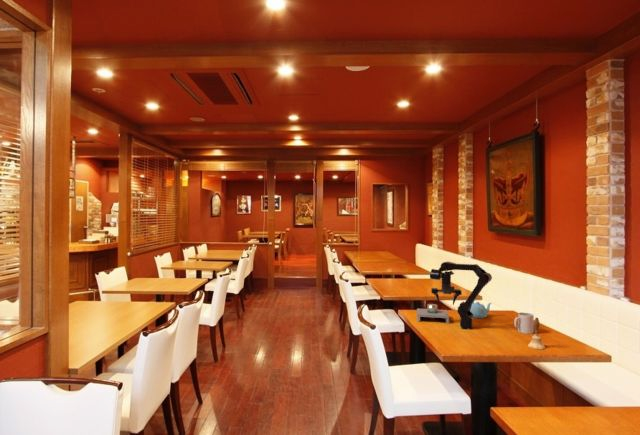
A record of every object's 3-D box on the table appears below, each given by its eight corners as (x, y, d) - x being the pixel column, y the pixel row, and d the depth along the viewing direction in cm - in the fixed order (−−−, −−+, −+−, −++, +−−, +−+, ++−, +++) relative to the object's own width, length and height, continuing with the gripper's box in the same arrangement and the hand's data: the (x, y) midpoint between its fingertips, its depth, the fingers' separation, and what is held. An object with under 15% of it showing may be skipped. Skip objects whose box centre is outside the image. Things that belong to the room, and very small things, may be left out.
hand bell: (524, 344, 211) (524, 316, 211) (538, 344, 212) (539, 315, 212) (534, 349, 203) (534, 320, 203) (548, 349, 204) (549, 319, 204)
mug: (526, 329, 239) (526, 312, 239) (536, 333, 231) (537, 315, 231) (509, 330, 237) (510, 313, 237) (519, 334, 228) (519, 316, 228)
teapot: (482, 320, 259) (483, 305, 259) (462, 316, 270) (462, 301, 270) (491, 316, 269) (492, 302, 269) (471, 312, 280) (471, 298, 280)
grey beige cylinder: (436, 316, 263) (436, 304, 263) (437, 319, 257) (437, 306, 257) (427, 316, 265) (427, 303, 264) (427, 318, 258) (427, 305, 258)
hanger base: (446, 317, 266) (446, 310, 266) (448, 323, 251) (448, 316, 251) (416, 315, 271) (416, 308, 271) (417, 321, 255) (417, 314, 255)
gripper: (432, 282, 244) (432, 306, 244) (463, 283, 240) (462, 308, 240) (431, 279, 255) (431, 302, 255) (460, 280, 251) (460, 304, 251)
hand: (445, 304), depth 250 cm, fingers open, 9 cm apart
